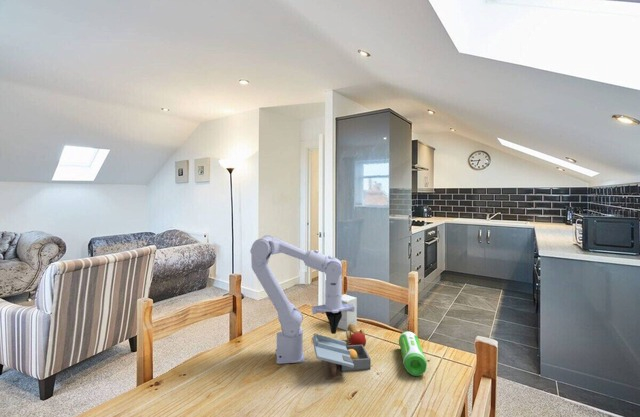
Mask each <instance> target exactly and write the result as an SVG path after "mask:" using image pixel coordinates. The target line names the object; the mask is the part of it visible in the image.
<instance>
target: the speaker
mask: <svg viewBox="0 0 640 417" xmlns="http://www.w3.org/2000/svg"><path fill="white" fill-rule="evenodd" d="M398 345H399V348H400V352H401V357H402V360H403V361H402V364H403V366H404V369H405V370H406V371H407V373H408V374H410V375H411V376H415V377H419V376H423V375H424V374H425V372H426V371H427V367H428V364H427V359H426V356H425V355H424V352H423V349H422V346H421V343H420V339H419V337H418V336H417V335H416V334H415V333H414V332H412V331H409V330H408V331H403V332H402V333H401V334H400V335H399V338H398Z"/></svg>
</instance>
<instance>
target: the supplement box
mask: <svg viewBox="0 0 640 417" xmlns="http://www.w3.org/2000/svg"><path fill="white" fill-rule="evenodd" d="M357 298H358V297H355V296H351V295H349V294H345V293H344V294H343V293H342V304H348V305H354V312H351V311H347V312H341V313H342V318H341V319H340V321H339V323H338V326H337V329H341V330H344V331H345V332H346V331H350V330H349V328H348V327H349V325H350V324H354V325H355V326H356V327H357V325H358V323H357V321H358V319H357V318H358V315H357V314H358V311H357V310H358V299H357Z"/></svg>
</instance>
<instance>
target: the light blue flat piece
mask: <svg viewBox="0 0 640 417" xmlns="http://www.w3.org/2000/svg"><path fill="white" fill-rule="evenodd" d="M311 339H312V344H313V349H314V353H315V357H316V359H317V360H321V361H322V360H324V361H328V362H332V363H336V364H339V366H340V365H344V366H348V367H352V368H353V367H354V364H353V361H352V358H351V357H350V352H351V351H350V350H347V348H346V346H347V344H348V341H344V340H341V339H336V338H333V337H329V336H325V335H321V334H317V333H314V334H313V336H312V338H311Z"/></svg>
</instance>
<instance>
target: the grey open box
mask: <svg viewBox="0 0 640 417" xmlns="http://www.w3.org/2000/svg"><path fill="white" fill-rule="evenodd" d="M346 348H347V350H349V349H354V350H355V351H356V352H357V359H352V361H353V364H354V367H353V368H352V367H348V366H344V365H340V364H339V367H340V370H341V373H343V372H344V373H345V372H355V371H357V372H358V371H368V370H371V367H372V366H371V357H370V356H369V353H368V352H367V350H366V348H365V347H364V346H363V345H351V344H348V345H346Z"/></svg>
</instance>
